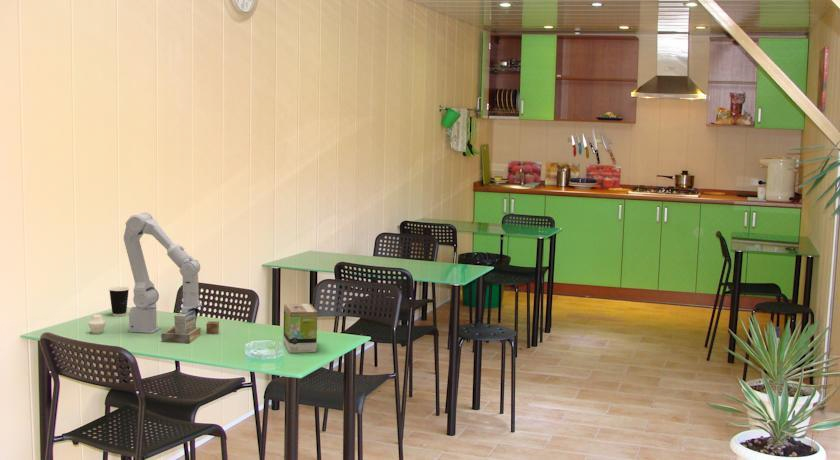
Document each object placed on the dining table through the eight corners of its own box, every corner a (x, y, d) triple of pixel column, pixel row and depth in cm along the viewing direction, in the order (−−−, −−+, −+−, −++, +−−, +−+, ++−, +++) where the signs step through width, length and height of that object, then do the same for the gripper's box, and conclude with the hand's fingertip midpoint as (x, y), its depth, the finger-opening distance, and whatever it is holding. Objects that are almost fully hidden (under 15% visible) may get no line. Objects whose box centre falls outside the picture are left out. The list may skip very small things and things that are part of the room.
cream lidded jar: (84, 333, 335) (84, 314, 334) (97, 329, 340) (97, 311, 339) (96, 335, 332) (96, 316, 331) (109, 332, 337) (109, 313, 337)
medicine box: (186, 338, 330) (184, 316, 329) (175, 337, 332) (173, 315, 330) (196, 332, 338) (195, 309, 336) (186, 331, 339) (184, 309, 337)
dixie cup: (128, 317, 363) (128, 290, 362) (107, 317, 362) (107, 290, 360) (130, 313, 371) (130, 286, 370) (110, 313, 369) (109, 286, 368)
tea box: (317, 352, 317) (318, 310, 315) (288, 353, 314) (289, 311, 312) (310, 342, 331) (310, 302, 329) (282, 343, 328) (283, 303, 326)
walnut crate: (206, 334, 339) (206, 323, 338) (208, 331, 343) (208, 321, 342) (217, 334, 339) (217, 323, 339) (218, 331, 343) (218, 321, 343)
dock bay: (161, 341, 325) (161, 333, 325) (174, 334, 337) (174, 326, 337) (188, 343, 324) (188, 334, 324) (200, 335, 336) (200, 327, 336)
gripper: (194, 296, 330) (195, 333, 332) (207, 289, 344) (208, 324, 346) (175, 296, 331) (176, 332, 332) (189, 288, 345) (190, 323, 347)
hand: (191, 328), depth 339 cm, fingers closed, pressing on medicine box
